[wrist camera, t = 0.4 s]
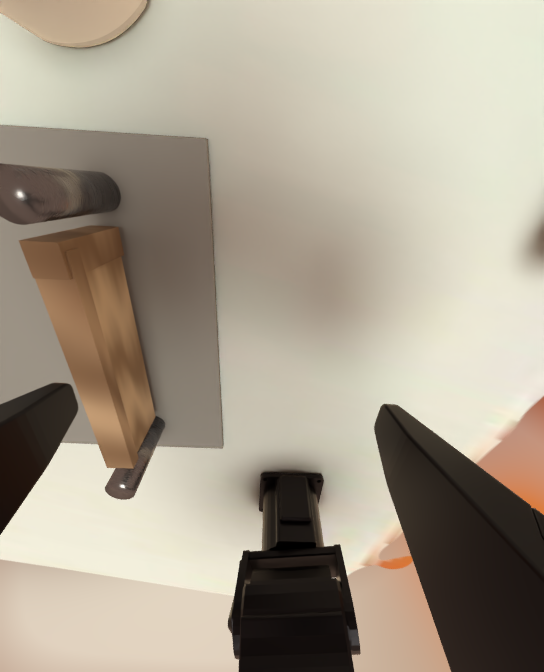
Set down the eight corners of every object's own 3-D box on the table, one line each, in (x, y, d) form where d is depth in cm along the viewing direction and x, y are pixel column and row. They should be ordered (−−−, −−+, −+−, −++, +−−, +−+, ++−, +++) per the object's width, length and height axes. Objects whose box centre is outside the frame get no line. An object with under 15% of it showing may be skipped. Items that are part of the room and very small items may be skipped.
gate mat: (223, 444, 26) (222, 448, 26) (-11, 436, 25) (-15, 439, 25) (207, 139, 14) (206, 138, 14) (-224, 111, 14) (-238, 109, 13)
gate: (159, 416, 23) (132, 471, 18) (137, 415, 23) (105, 470, 18) (120, 226, 16) (60, 242, 11) (88, 225, 15) (16, 240, 11)
